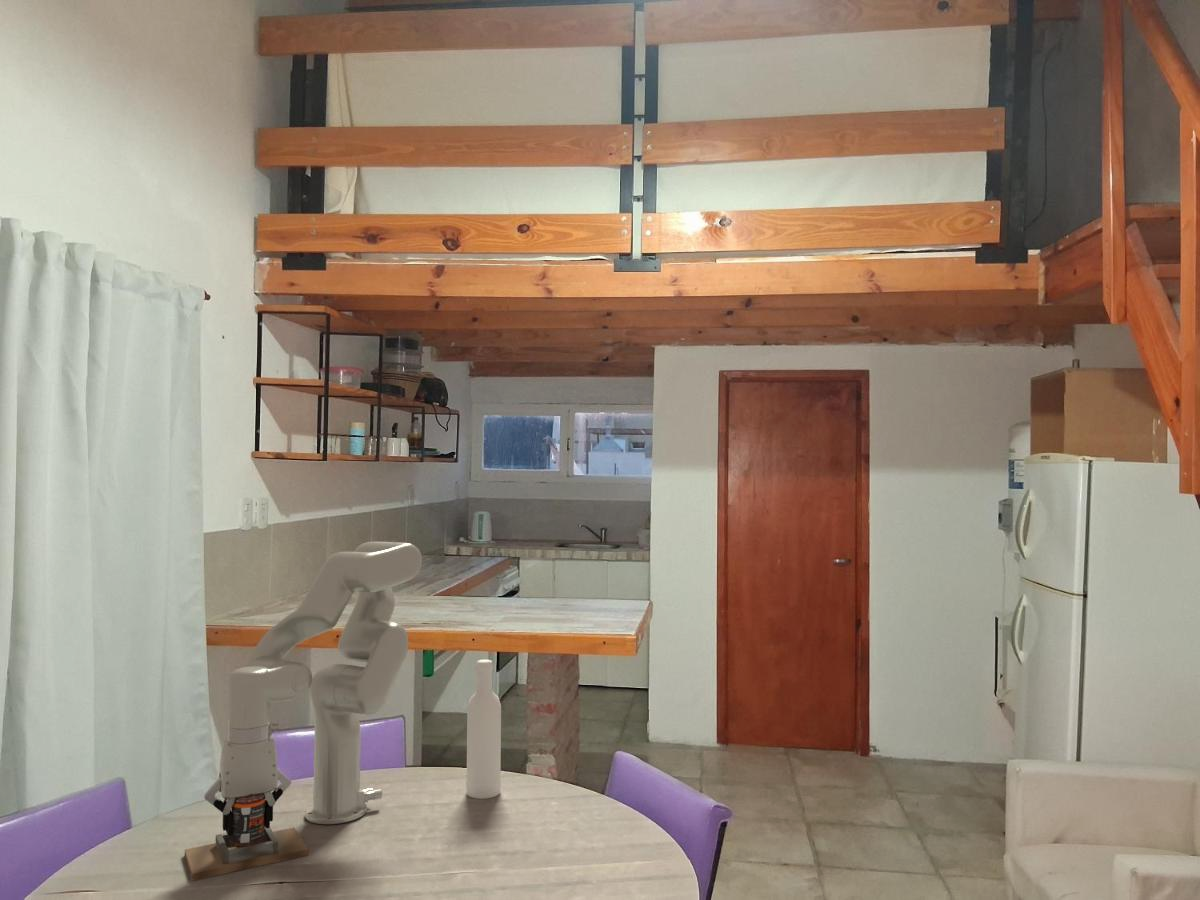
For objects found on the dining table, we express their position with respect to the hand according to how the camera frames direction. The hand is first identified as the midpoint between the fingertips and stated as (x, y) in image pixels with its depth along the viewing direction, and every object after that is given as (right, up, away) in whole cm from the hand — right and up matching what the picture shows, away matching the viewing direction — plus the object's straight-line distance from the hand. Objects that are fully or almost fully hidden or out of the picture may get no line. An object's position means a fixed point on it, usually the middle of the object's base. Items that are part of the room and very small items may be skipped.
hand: (247, 828), depth 161 cm
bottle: (+40, -7, +33) cm, 53 cm away
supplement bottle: (0, -3, 0) cm, 3 cm away
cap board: (0, -5, 0) cm, 5 cm away
